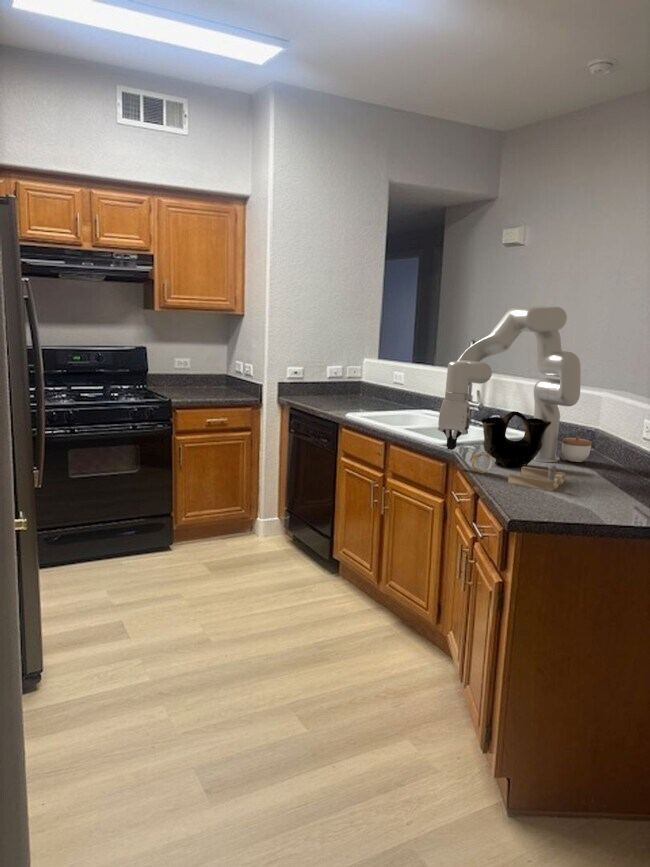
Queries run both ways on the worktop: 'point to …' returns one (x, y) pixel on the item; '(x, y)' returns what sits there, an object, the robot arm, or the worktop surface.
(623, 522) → the worktop surface
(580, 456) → the lidded jar
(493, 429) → the pottery vessel
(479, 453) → the ring
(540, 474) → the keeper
